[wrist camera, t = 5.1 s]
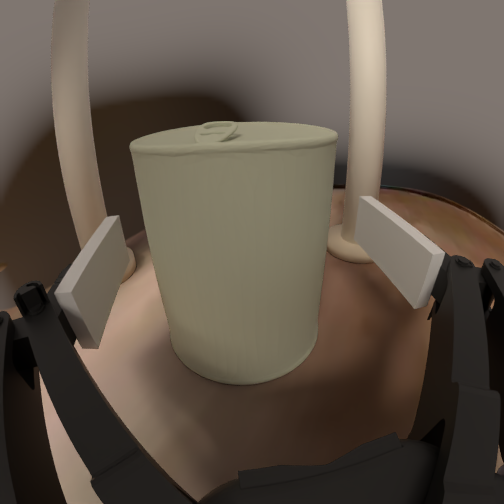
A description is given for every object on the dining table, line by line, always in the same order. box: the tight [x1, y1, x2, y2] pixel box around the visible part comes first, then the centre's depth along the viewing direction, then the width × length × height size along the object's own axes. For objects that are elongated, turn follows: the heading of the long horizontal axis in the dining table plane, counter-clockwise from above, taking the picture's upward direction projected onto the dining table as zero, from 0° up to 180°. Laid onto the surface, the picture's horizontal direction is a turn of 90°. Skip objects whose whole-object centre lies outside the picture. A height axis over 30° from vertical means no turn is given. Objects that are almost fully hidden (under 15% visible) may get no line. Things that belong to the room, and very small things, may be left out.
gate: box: [51, 0, 386, 283], centre depth 17 cm, size 29×6×28 cm, turn 99°
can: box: [130, 121, 338, 385], centre depth 15 cm, size 9×9×12 cm
